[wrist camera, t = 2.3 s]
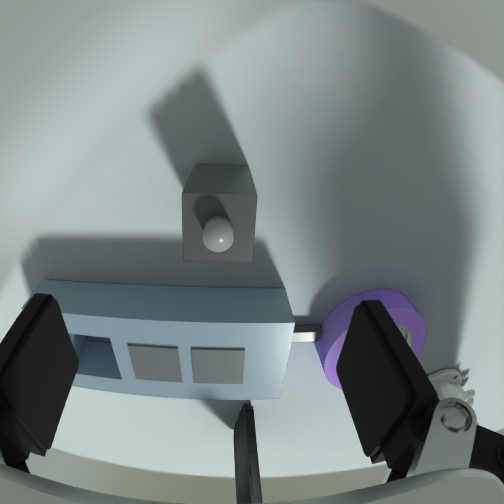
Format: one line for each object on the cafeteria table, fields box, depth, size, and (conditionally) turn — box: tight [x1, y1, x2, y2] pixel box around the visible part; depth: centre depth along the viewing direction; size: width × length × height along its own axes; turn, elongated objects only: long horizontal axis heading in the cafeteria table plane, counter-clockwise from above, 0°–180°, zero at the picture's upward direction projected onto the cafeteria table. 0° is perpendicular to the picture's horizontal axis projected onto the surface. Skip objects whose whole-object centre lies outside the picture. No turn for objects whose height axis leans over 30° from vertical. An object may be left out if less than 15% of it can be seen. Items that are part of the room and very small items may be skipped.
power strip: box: [22, 279, 321, 400], centre depth 28 cm, size 28×10×5 cm, turn 86°
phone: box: [234, 405, 262, 504], centre depth 32 cm, size 8×1×15 cm, turn 168°
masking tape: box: [316, 289, 426, 389], centre depth 31 cm, size 12×12×4 cm
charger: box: [182, 164, 257, 262], centre depth 21 cm, size 4×4×9 cm
